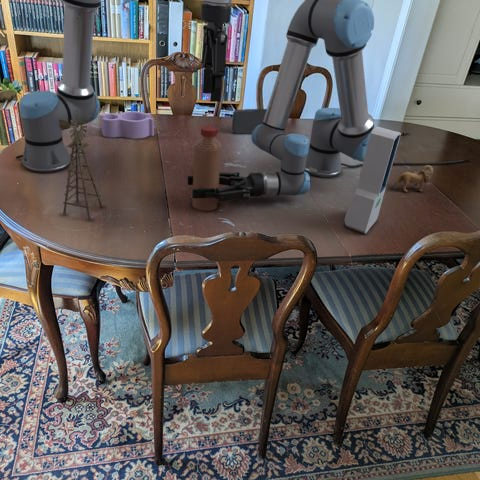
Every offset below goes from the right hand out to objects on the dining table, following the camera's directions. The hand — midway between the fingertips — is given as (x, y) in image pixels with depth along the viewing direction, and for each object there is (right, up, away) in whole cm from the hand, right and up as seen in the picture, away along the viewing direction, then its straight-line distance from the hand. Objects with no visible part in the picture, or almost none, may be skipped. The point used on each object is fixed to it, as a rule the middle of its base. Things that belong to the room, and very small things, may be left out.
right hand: (190, 187), depth 141 cm
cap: (+6, +16, -9) cm, 19 cm away
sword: (+83, +30, +73) cm, 115 cm away
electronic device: (+52, -11, +3) cm, 54 cm away
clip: (-31, +27, +49) cm, 64 cm away
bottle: (+4, -5, +5) cm, 8 cm away
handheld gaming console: (+22, +31, +64) cm, 74 cm away
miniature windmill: (-31, -8, -5) cm, 32 cm away
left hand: (+7, +23, -14) cm, 28 cm away
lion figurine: (+77, +2, +28) cm, 82 cm away
